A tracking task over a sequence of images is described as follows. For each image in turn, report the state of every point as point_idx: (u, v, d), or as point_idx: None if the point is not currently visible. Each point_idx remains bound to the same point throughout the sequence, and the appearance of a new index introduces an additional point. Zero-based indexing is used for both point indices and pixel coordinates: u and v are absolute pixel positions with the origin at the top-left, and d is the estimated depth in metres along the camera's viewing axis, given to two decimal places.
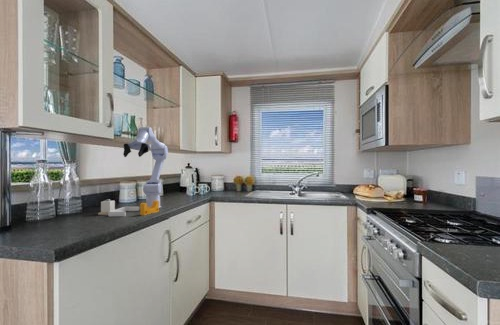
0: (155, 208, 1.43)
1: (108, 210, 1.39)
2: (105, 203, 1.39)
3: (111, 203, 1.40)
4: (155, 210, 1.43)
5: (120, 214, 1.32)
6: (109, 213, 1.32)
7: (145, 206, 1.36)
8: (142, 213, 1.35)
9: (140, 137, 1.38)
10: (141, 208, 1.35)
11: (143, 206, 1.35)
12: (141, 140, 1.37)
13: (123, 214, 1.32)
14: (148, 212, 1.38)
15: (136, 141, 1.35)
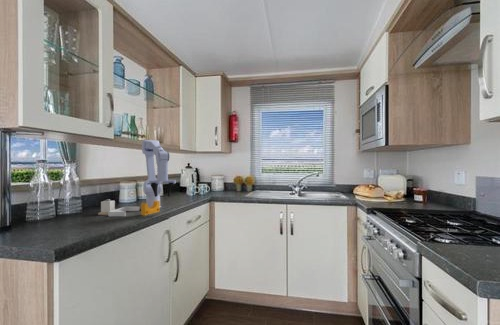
0: (156, 208, 1.43)
1: (108, 210, 1.39)
2: (105, 203, 1.39)
3: (111, 203, 1.40)
4: (156, 210, 1.43)
5: (120, 214, 1.32)
6: (109, 213, 1.32)
7: (146, 206, 1.35)
8: (143, 213, 1.35)
9: (162, 173, 1.39)
10: (142, 208, 1.35)
11: (144, 206, 1.35)
12: (165, 177, 1.40)
13: (123, 214, 1.32)
14: (149, 212, 1.38)
15: (161, 181, 1.38)
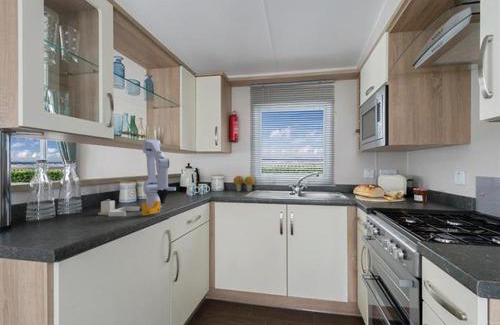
0: (156, 208, 1.43)
1: (108, 210, 1.39)
2: (105, 203, 1.39)
3: (111, 203, 1.40)
4: (156, 210, 1.43)
5: (120, 214, 1.32)
6: (109, 213, 1.32)
7: (147, 206, 1.35)
8: (144, 213, 1.35)
9: (162, 181, 1.39)
10: (143, 208, 1.35)
11: (145, 206, 1.35)
12: (165, 184, 1.39)
13: (123, 214, 1.32)
14: (150, 212, 1.37)
15: None
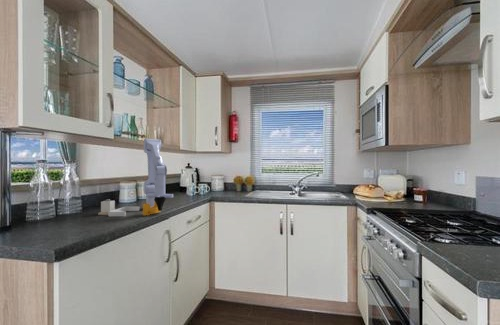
0: (157, 208, 1.43)
1: (108, 210, 1.39)
2: (105, 203, 1.39)
3: (111, 203, 1.40)
4: (157, 210, 1.43)
5: (120, 214, 1.32)
6: (109, 213, 1.32)
7: (148, 206, 1.35)
8: (145, 213, 1.34)
9: (160, 188, 1.39)
10: (144, 208, 1.35)
11: (146, 206, 1.34)
12: (162, 191, 1.39)
13: (123, 214, 1.32)
14: (151, 212, 1.37)
15: (158, 196, 1.38)
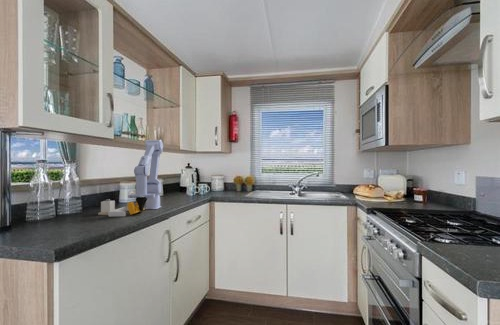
0: None
1: (108, 210, 1.39)
2: (105, 203, 1.39)
3: (111, 203, 1.40)
4: None
5: (120, 214, 1.32)
6: (109, 213, 1.32)
7: (133, 204, 1.35)
8: (132, 211, 1.34)
9: (141, 188, 1.39)
10: (129, 207, 1.34)
11: (131, 205, 1.34)
12: (143, 191, 1.39)
13: (123, 214, 1.32)
14: (136, 210, 1.37)
15: None
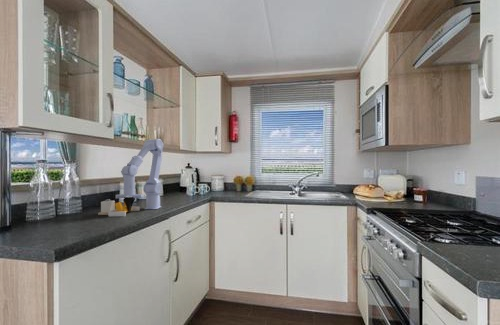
0: None
1: (108, 210, 1.39)
2: (105, 203, 1.39)
3: (111, 203, 1.40)
4: None
5: (120, 214, 1.32)
6: (109, 213, 1.32)
7: (120, 204, 1.35)
8: None
9: (128, 188, 1.39)
10: (117, 207, 1.34)
11: (119, 205, 1.34)
12: (131, 191, 1.39)
13: (123, 214, 1.32)
14: (124, 210, 1.37)
15: None
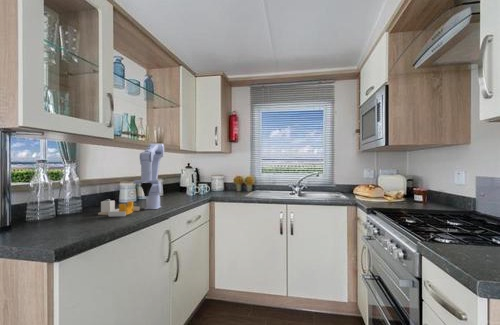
0: (131, 208, 1.43)
1: (108, 210, 1.39)
2: (105, 203, 1.39)
3: (111, 203, 1.40)
4: (131, 210, 1.43)
5: (120, 214, 1.32)
6: (109, 213, 1.32)
7: (124, 206, 1.35)
8: None
9: (146, 174, 1.41)
10: (120, 209, 1.34)
11: (123, 207, 1.34)
12: (148, 177, 1.42)
13: (123, 214, 1.32)
14: (126, 212, 1.37)
15: (144, 181, 1.41)
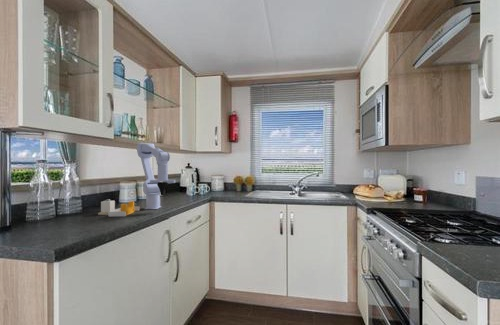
0: (132, 208, 1.43)
1: (108, 210, 1.39)
2: (105, 203, 1.39)
3: (111, 203, 1.40)
4: (132, 210, 1.43)
5: (120, 214, 1.32)
6: (109, 213, 1.32)
7: (126, 206, 1.35)
8: None
9: (162, 173, 1.45)
10: (122, 209, 1.34)
11: (124, 207, 1.34)
12: (165, 176, 1.46)
13: (123, 214, 1.32)
14: (128, 212, 1.37)
15: None
